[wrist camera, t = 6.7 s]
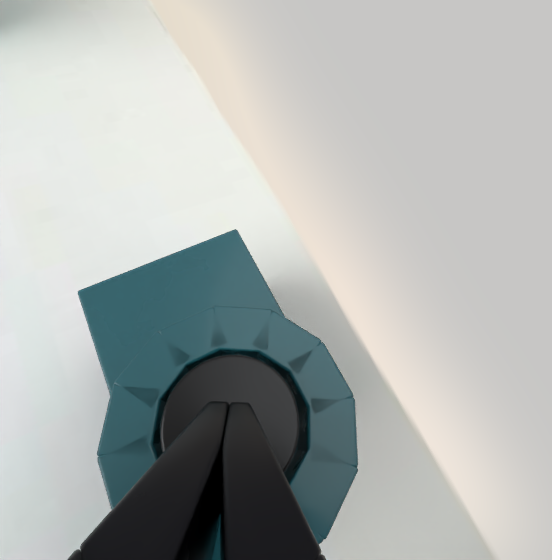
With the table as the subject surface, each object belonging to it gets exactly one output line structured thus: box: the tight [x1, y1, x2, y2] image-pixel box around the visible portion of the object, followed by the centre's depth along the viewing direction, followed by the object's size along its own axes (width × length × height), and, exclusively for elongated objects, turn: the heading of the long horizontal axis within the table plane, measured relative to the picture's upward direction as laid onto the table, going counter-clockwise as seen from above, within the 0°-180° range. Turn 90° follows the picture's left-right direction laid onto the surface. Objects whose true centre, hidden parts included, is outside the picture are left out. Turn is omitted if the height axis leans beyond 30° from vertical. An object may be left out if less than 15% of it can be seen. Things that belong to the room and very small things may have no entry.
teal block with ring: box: [78, 229, 358, 560], centre depth 12 cm, size 9×6×7 cm, turn 27°
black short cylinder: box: [160, 354, 300, 474], centre depth 9 cm, size 3×3×2 cm
